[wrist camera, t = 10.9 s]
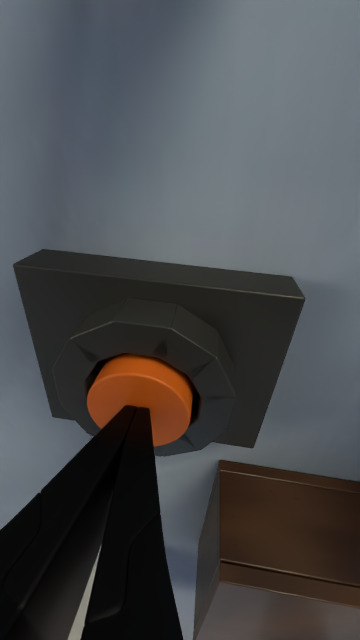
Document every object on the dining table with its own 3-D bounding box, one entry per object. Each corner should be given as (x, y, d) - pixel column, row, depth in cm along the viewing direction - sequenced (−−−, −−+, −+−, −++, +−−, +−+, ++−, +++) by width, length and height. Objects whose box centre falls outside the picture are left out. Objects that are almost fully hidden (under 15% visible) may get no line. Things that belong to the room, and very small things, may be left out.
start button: (199, 348, 10) (195, 382, 8) (189, 416, 11) (185, 454, 10) (100, 335, 10) (79, 366, 8) (107, 403, 12) (91, 439, 10)
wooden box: (468, 499, 16) (560, 624, 11) (373, 576, 22) (409, 674, 18) (219, 459, 17) (219, 560, 12) (198, 544, 23) (193, 629, 19)
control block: (293, 276, 10) (323, 323, 7) (249, 416, 14) (257, 484, 11) (42, 248, 11) (-25, 281, 8) (69, 389, 15) (32, 446, 12)
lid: (575, 626, 11) (595, 652, 11) (419, 676, 18) (426, 694, 17) (219, 561, 12) (219, 581, 12) (193, 630, 19) (192, 646, 18)
